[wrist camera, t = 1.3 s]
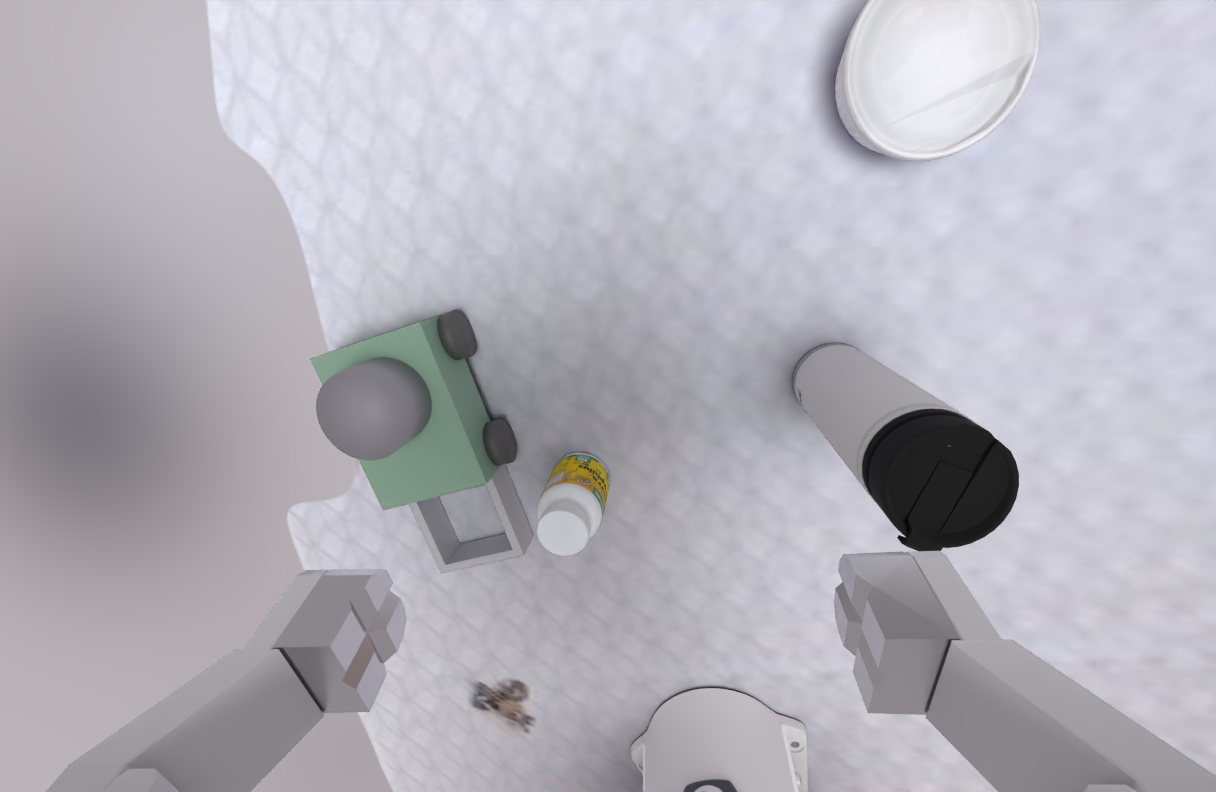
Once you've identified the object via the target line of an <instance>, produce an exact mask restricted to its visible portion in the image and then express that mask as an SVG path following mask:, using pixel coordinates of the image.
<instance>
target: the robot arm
mask: <svg viewBox="0 0 1216 792" xmlns="http://www.w3.org/2000/svg"><path fill="white" fill-rule="evenodd" d="M838 571H839V574H840V576H841V579H842V581H843V582H842V583H841V584H840V585H839V586H838V587H836V588H835V598H834V607H835V618H836V622H837V626H838V631H839V634H840V637H841V640H842V642H843V645H844V647H845V648H847V649H848V650H849V651H850V652H851V653H852V654H853V655H855V656H856V658H855V663H854V669H853V673H854V676H855V679H856V681H857V684H858V687H859V690H860V692H861V695H862V698H863V700H864V703H865V706H866V709H867V711H868V713H887V714H920V715H927V716H926V718H927V719H928V720H929V721H930V722H931V723H932V724H933V725H934V727H935V728H936V729H937V730H938V731H939V732H940V733H941V734H942V735H943V736H944V737H945V738H946V739H947V740H948V741H949V742H950V743H951V744H952V745H953V746H954V747H955V748H956V749H957V750H958V751H959V752H960V753H961V754H962V755H963V756H964V757H965V758H966V759H967V760H968V761H969V762H970V763H971V764H972V765H973V766H974V767H975V768H976V769H977V770H978V771H979V773H980V774H981V775H982V776H983V777H984V778H985V779H986V780H987V781H988V782H989V783H990V784H991V785H992V786H993V787H994V788H995V789H996V790H997V791H998V792H1216V776H1215V775H1214V774H1212V773H1211V772H1209V771H1208V770H1206V769H1205V768H1203V767H1202V766H1200V765H1199V764H1197V763H1196V762H1194V761H1193V760H1191V759H1190V758H1188V757H1187V756H1185V755H1184V754H1182V753H1181V752H1179V751H1178V750H1176V749H1175V748H1173V747H1172V746H1170V745H1169V744H1167V743H1166V742H1165V741H1163V740H1162V739H1160V738H1159V737H1157V736H1156V735H1154V734H1153V733H1151V732H1150V731H1148V730H1147V729H1145V728H1144V727H1142V726H1141V725H1139V724H1138V723H1136V722H1135V721H1133V720H1132V719H1130V718H1129V717H1127V716H1126V715H1124V714H1123V713H1121V712H1120V711H1118V710H1117V709H1115V708H1114V707H1112V706H1111V705H1109V704H1108V703H1106V702H1105V701H1103V700H1102V699H1100V698H1099V697H1097V696H1096V695H1094V694H1093V693H1091V692H1090V691H1088V690H1087V689H1085V688H1084V687H1082V686H1081V685H1080V684H1078V683H1077V682H1075V681H1074V680H1072V679H1071V678H1069V677H1068V676H1066V675H1065V674H1063V673H1062V672H1060V671H1059V670H1057V669H1056V668H1054V667H1053V666H1051V665H1050V664H1048V663H1047V662H1045V661H1044V660H1042V659H1041V658H1039V657H1038V656H1036V655H1035V654H1033V653H1032V652H1030V651H1029V650H1027V649H1026V648H1024V647H1023V646H1021V645H1020V644H1018V643H1017V642H1015V641H1014V640H1002V639H1001V637H1000V636H999V634H998V633H997V631H996V630H995V628H994V627H993V625H992V624H991V622H990V621H989V619H988V618H987V616H986V615H985V613H984V612H983V610H982V609H981V607H980V606H979V604H978V603H977V601H976V600H975V598H974V597H973V595H972V594H971V592H970V591H969V589H968V588H967V586H966V585H965V583H964V582H963V580H962V579H961V577H960V576H959V574H958V573H957V571H956V570H955V568H954V567H953V565H952V564H951V562H950V561H949V559H948V558H947V556H946V555H945V554H943V553H942V552H940V551H919V552H906V553H905V552H886V553H862V554H843V555H842V557H841V559H840V562H839V568H838ZM392 584H393V581H392V580H391V578H390V576H389V574H388V572H387V570H379V569H359V570H306V571H304V572H302V573H301V574H299V575H298V576H296V578H295V579H294V580H293V582H292V583H291V585H290V586H289V587H288V589H287V590H286V591H285V593H284V594H283V595H282V597H281V598H280V599H279V601H278V602H277V603H276V605H275V606H274V608H273V609H272V610H271V611H270V613H269V614H268V616H267V617H266V618H265V620H264V621H263V622H262V624H261V625H260V626H259V628H258V629H257V630H256V632H255V633H254V635H253V636H252V637H251V639H250V640H249V641H248V643H247V644H246V645H245V647H244V648H243V649H236V650H233V651H232V652H230V653H229V654H227V655H226V656H225V657H223V658H222V659H220V660H219V661H217V662H216V663H214V664H213V665H212V666H210V667H209V668H207V669H206V670H204V671H203V672H202V673H200V674H199V675H197V676H196V677H194V678H193V679H192V680H190V681H189V682H187V683H186V684H184V685H183V686H181V687H180V688H179V689H177V690H176V691H174V692H173V693H171V694H170V695H169V696H167V697H166V698H164V699H163V700H161V701H160V702H158V703H157V704H156V705H154V706H153V707H151V708H150V709H148V710H147V711H145V712H144V713H143V714H141V715H140V716H138V717H137V718H136V719H134V720H133V721H131V722H130V723H128V724H127V725H125V726H124V727H123V728H121V729H120V730H118V731H117V732H115V733H114V734H112V735H111V736H109V737H108V738H107V739H105V740H104V741H103V742H101V743H100V744H98V745H97V746H95V747H94V748H92V749H91V750H89V751H88V752H86V753H85V754H84V755H82V756H81V757H79V758H78V759H76V760H75V761H74V762H72V763H71V764H69V766H68V767H67V768H66V769H65V770H64V771H63V772H62V774H61V775H60V776H59V777H58V779H56V781H55V782H54V783H53V784H52V785H51V786H50V788H49V789H48V790H47V791H46V792H251V791H252V790H253V789H254V787H256V785H257V784H258V783H259V782H260V781H261V780H262V779H263V778H264V777H265V776H266V775H267V774H268V773H269V772H270V771H271V770H272V769H273V768H274V767H275V766H276V765H277V764H278V763H279V762H280V761H281V760H282V759H283V758H284V757H285V755H287V754H288V752H290V751H291V749H292V748H293V747H294V746H295V745H296V744H297V743H298V742H299V741H300V740H301V739H302V738H303V737H304V736H305V735H306V734H307V733H308V732H309V731H310V730H311V729H312V728H313V727H314V726H315V725H316V724H317V723H318V722H319V720H321V719H322V718H323V716H324V714H323V713H343V712H370V710H371V707H372V705H373V703H374V701H375V699H376V697H377V694H378V692H379V690H380V688H381V686H382V683H383V681H384V679H385V677H386V670H385V666H384V662H385V661H387V660H388V659H389V658H390V657H391V656H392V655H393V654H394V653H396V652H397V650H398V648H399V646H400V643H401V641H402V639H403V636H404V630H405V624H406V615H405V608H404V605H403V603H402V601H401V599H400V598H399V597H397V596H396V595H394V594H393V593H392V592H390V591H389V590H390V588H391V586H392ZM631 758H632V760H633V762H634V763H635V765H636V766H637V768H638V769H639V771H640V772H641V774H642V775H643V792H808V771H807V734H806V728H805V726H804V725H803V724H802V723H801V722H799V721H797V720H794V719H792V718H788V717H785V716H782V715H778V714H777V713H775V712H773V711H772V710H770V709H769V708H768V707H766V706H765V705H764V704H762V703H761V702H759V701H757V700H756V699H754V698H752V697H750V696H748V695H745V694H742V693H739V692H736V691H732V690H727V689H719V688H705V689H697V690H692V691H688V692H684V693H682V694H679V695H677V696H675V697H673V698H671V699H670V700H668V701H667V702H665V703H664V704H663V705H662V706H661V707H660V708H659V709H658V710H657V711H656V713H655V714H654V716H653V718H652V720H651V722H650V724H649V727H648V729H647V731H646V732H645V733H644V734H643V735H642V736H641V737H639V738H638V739H637V740H636V741H635V742H634V743H633V744H632V746H631Z"/></svg>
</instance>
